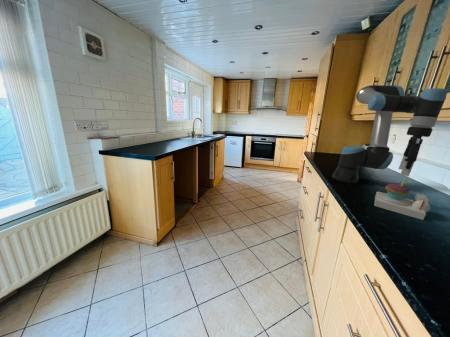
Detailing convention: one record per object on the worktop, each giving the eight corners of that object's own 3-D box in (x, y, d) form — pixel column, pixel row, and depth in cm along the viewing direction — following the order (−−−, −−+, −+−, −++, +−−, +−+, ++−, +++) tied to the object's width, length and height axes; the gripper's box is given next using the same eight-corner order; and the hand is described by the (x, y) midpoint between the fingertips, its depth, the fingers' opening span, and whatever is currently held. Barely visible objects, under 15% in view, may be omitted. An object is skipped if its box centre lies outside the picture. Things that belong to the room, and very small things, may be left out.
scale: (375, 196, 102) (379, 182, 99) (421, 208, 91) (428, 193, 88) (374, 205, 90) (379, 190, 87) (427, 221, 79) (435, 204, 76)
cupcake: (406, 199, 90) (415, 176, 87) (403, 203, 85) (413, 179, 81) (384, 192, 96) (392, 171, 93) (380, 196, 91) (388, 173, 88)
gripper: (406, 125, 92) (392, 165, 98) (412, 126, 73) (393, 175, 80) (428, 127, 87) (411, 169, 94) (439, 128, 69) (417, 180, 75)
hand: (403, 172), depth 87 cm, fingers open, 13 cm apart
